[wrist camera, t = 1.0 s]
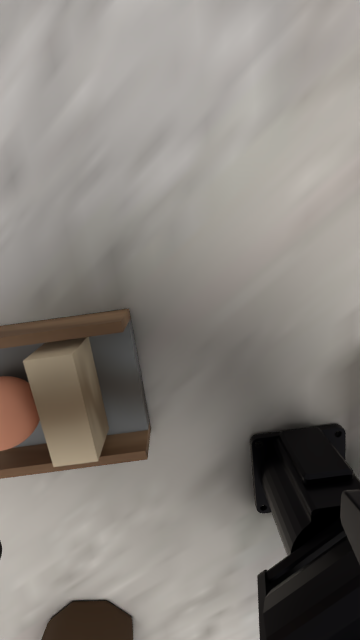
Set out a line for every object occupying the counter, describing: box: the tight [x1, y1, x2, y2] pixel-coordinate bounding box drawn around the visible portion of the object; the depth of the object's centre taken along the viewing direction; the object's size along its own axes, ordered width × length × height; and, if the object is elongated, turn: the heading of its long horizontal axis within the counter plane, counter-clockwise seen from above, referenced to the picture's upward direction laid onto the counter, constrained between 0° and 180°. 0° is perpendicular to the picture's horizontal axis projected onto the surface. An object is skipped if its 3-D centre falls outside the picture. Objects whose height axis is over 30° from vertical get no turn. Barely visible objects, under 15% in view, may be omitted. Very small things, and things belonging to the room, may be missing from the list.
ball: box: [0, 376, 40, 451], centre depth 17 cm, size 4×4×4 cm
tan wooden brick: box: [23, 337, 109, 467], centre depth 17 cm, size 6×2×3 cm, turn 8°
